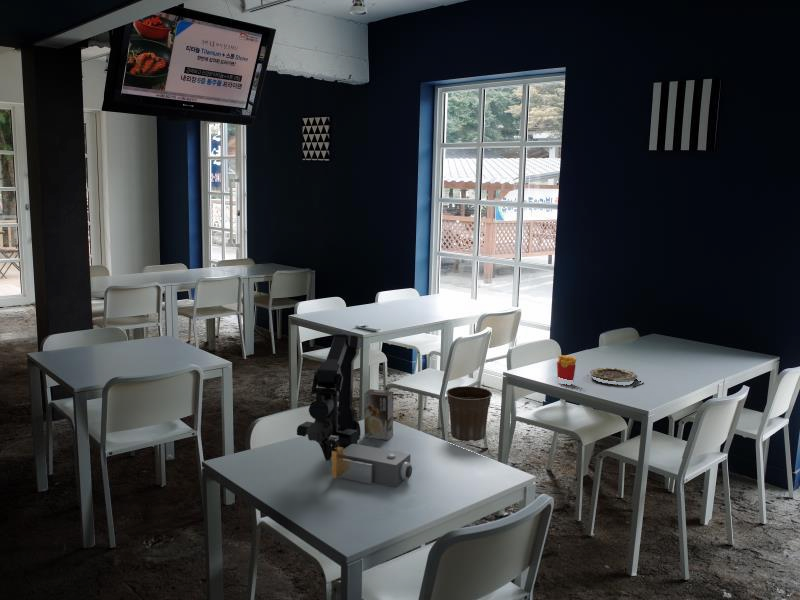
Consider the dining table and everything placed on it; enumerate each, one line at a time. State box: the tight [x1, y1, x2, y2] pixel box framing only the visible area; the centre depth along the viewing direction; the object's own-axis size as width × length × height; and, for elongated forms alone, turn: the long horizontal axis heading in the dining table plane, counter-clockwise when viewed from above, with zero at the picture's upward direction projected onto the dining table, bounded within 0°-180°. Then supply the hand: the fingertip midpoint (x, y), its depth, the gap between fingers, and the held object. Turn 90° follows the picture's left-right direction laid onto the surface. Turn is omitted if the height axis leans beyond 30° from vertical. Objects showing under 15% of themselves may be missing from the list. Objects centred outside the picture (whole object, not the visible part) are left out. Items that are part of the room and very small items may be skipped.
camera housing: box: [343, 444, 413, 489], centre depth 215 cm, size 22×10×8 cm, turn 65°
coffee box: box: [363, 388, 394, 441], centre depth 251 cm, size 9×6×16 cm
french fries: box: [556, 354, 577, 381], centre depth 327 cm, size 9×4×13 cm, turn 43°
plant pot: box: [446, 385, 493, 442], centre depth 253 cm, size 16×16×16 cm
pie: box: [589, 367, 638, 382], centre depth 335 cm, size 28×27×5 cm
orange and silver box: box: [331, 447, 374, 485], centre depth 209 cm, size 11×5×10 cm, turn 65°
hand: (327, 460), depth 212 cm, fingers closed
